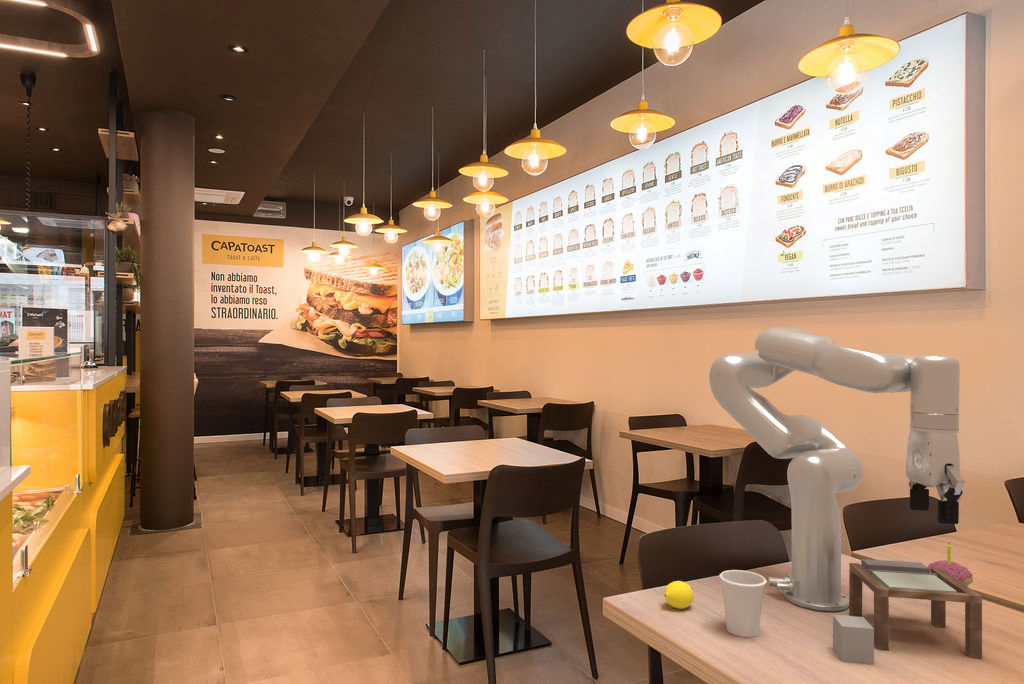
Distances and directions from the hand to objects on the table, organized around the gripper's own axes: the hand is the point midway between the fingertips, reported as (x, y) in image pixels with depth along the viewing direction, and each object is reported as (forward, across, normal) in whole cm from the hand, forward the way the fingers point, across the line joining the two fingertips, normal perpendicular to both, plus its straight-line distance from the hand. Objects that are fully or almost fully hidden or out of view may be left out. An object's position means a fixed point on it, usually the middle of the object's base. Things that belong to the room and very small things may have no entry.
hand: (933, 516), depth 118 cm
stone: (+23, +8, -17) cm, 30 cm away
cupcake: (+23, -25, +16) cm, 38 cm away
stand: (+23, -2, -3) cm, 23 cm away
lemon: (+23, -9, -44) cm, 51 cm away
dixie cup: (+23, 0, -34) cm, 41 cm away
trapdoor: (+15, -4, -3) cm, 16 cm away
